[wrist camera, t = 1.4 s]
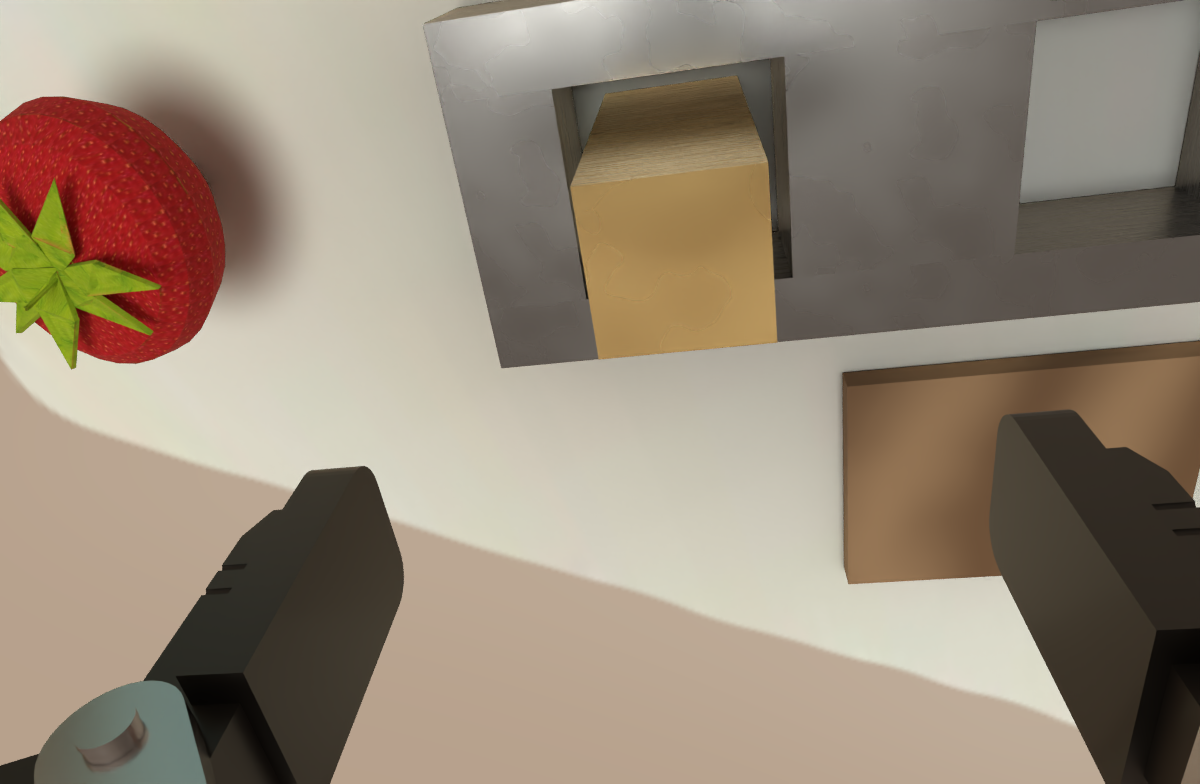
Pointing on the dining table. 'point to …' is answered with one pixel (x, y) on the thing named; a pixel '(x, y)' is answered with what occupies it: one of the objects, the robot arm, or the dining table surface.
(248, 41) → the dining table surface
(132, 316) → the strawberry
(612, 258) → the brass peg
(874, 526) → the walnut board
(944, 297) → the grey slotted block
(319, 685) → the robot arm
